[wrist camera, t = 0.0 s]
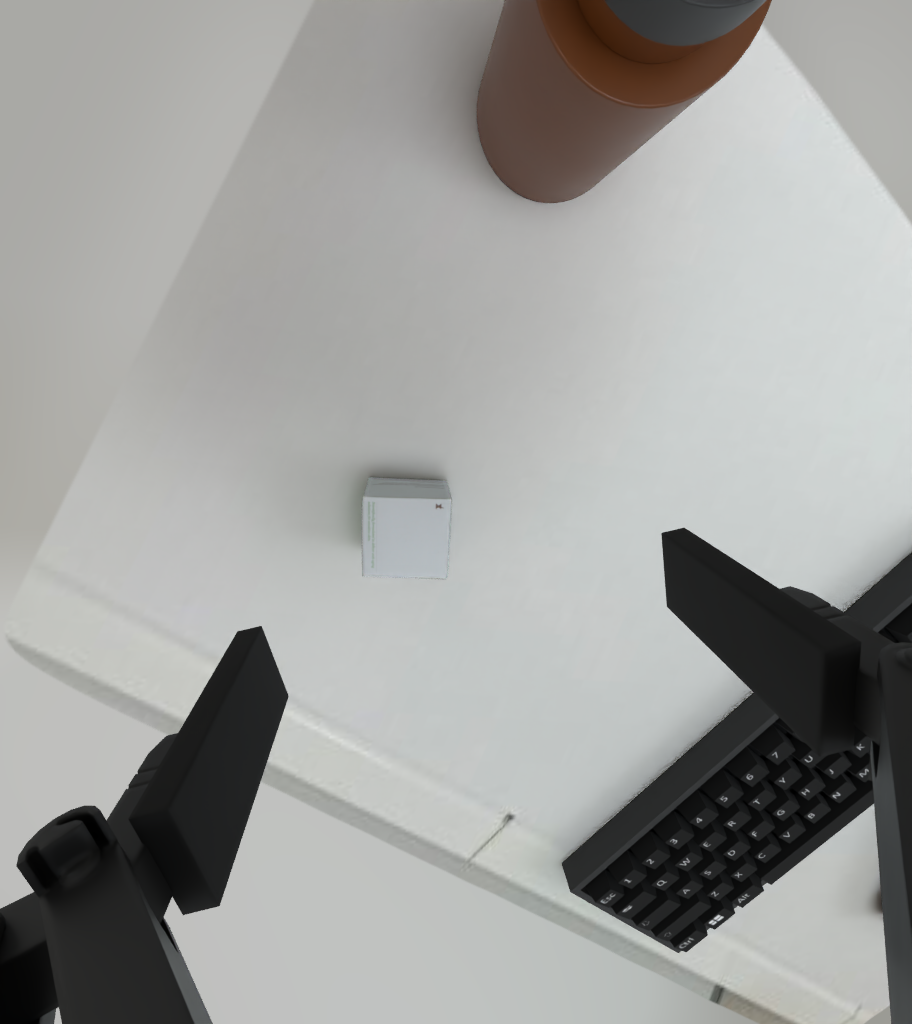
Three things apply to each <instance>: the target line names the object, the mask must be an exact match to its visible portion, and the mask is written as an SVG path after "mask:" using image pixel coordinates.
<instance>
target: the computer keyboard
mask: <svg viewBox="0 0 912 1024" xmlns="http://www.w3.org/2000/svg"><path fill="white" fill-rule="evenodd" d="M844 614H845V615H849V616H851V617H852V618H854V619H856V620H857V621H859V622H861V623H862V624H864V625H866V626H867V627H869V628H871V629H872V630H874V631H876V632H877V633H879V634H881V635H882V636H884V637H886V638H887V639H889V640H891V641H892V642H894V643H901V642H905V643H912V553H911V554H910V555H909V556H908V557H906V558H905V559H904V560H903V561H902V562H901V563H900V564H899V565H897V566H896V567H895V568H894V569H893V570H892V571H891V572H890V573H888V574H887V575H886V576H885V577H884V578H883V579H882V580H881V581H879V582H878V583H877V584H876V585H875V586H874V587H873V588H872V589H870V590H869V591H868V592H867V593H866V594H865V595H864V596H863V597H861V598H860V599H859V600H858V601H857V602H856V603H855V604H854V605H852V606H851V607H850V608H849V609H848V610H847V611H846V612H845V613H844ZM870 750H871V739H870V738H869V737H868V736H867V735H865V734H864V733H863V732H862V731H861V730H859V729H858V728H857V727H856V726H855V735H854V748H853V749H851V750H847V751H843V752H838V753H834V754H830V755H826V756H822V757H819V756H818V755H817V754H816V753H815V752H814V751H813V750H812V749H811V748H810V747H809V746H808V745H807V744H806V743H805V742H804V741H803V740H802V739H801V738H800V737H799V736H798V735H797V734H796V733H795V732H794V731H793V730H792V729H791V728H790V727H789V726H788V725H787V724H786V723H785V722H784V721H783V720H782V719H781V718H780V717H778V716H777V715H776V714H775V713H774V712H773V711H772V710H771V709H770V708H769V707H768V706H767V705H766V704H765V703H764V702H763V701H762V700H761V699H760V698H759V697H758V696H757V695H756V694H755V693H753V694H752V695H751V696H750V697H749V698H748V699H747V700H745V701H744V702H743V703H742V704H741V705H740V706H739V707H738V708H736V709H735V710H734V711H733V712H732V713H731V714H730V715H729V716H727V717H726V718H725V719H724V720H723V721H722V722H721V723H720V724H718V725H717V726H716V727H715V728H714V729H713V730H712V731H711V732H709V733H708V734H707V735H706V736H705V737H704V738H703V739H702V740H700V741H699V742H698V743H697V744H696V745H695V746H694V747H693V748H691V749H690V750H689V751H688V752H687V753H686V754H685V755H684V756H682V757H681V758H680V759H679V760H678V761H677V762H676V763H675V764H673V765H672V766H671V767H670V768H669V769H668V770H667V771H666V772H664V773H663V774H662V775H661V776H660V777H659V778H658V779H657V780H655V781H654V782H653V783H652V784H651V785H650V786H649V787H648V788H646V789H645V790H644V791H643V792H642V793H641V794H640V795H639V796H637V797H636V798H635V799H634V800H633V801H632V802H631V803H630V804H628V805H627V806H626V807H625V808H624V809H623V810H622V811H621V812H619V813H618V814H617V815H616V816H615V817H614V818H613V819H612V820H610V821H609V822H608V823H607V824H606V825H605V826H604V827H603V828H601V829H600V830H599V831H598V832H597V833H596V834H595V835H594V836H592V837H591V838H590V839H589V840H588V841H587V842H586V843H585V844H583V845H582V846H581V847H580V848H579V849H578V850H577V851H576V852H574V853H573V854H572V855H571V856H570V857H569V858H568V859H567V860H565V861H564V862H563V863H562V866H563V869H564V872H565V876H566V879H567V882H568V885H569V889H570V892H571V893H573V894H575V895H577V896H579V897H580V898H582V899H584V900H586V901H587V902H589V903H591V904H593V905H594V906H596V907H598V908H600V909H601V910H603V911H605V912H607V913H608V914H610V915H612V916H614V917H616V918H617V919H619V920H621V921H623V922H624V923H626V924H628V925H630V926H631V927H633V928H635V929H637V930H638V931H640V932H642V933H644V934H646V935H647V936H649V937H651V938H653V939H654V940H656V941H658V942H660V943H661V944H663V945H665V946H667V947H668V948H670V949H672V950H674V951H675V952H677V953H679V952H680V951H685V952H687V951H688V950H690V949H691V948H692V947H693V946H695V945H696V944H697V943H698V942H700V941H701V940H702V939H704V938H705V937H706V936H707V935H708V934H707V930H708V929H709V928H713V929H716V928H717V927H719V926H720V925H721V924H722V923H724V922H725V921H726V920H727V919H729V918H730V917H731V916H732V915H734V914H735V911H734V908H736V907H737V906H740V907H742V908H743V907H744V906H745V905H746V904H748V903H749V902H750V901H751V900H753V899H754V898H755V897H756V896H758V895H759V894H760V893H761V892H763V891H764V889H763V887H762V886H763V885H764V884H766V883H769V884H771V885H772V884H773V883H774V882H775V881H777V880H778V879H779V878H780V877H782V876H783V875H784V874H785V873H787V872H788V871H789V870H790V869H792V868H793V867H794V866H795V865H797V864H798V863H799V862H801V861H802V860H803V859H804V858H806V857H807V856H808V855H809V854H811V853H812V852H813V851H814V850H816V849H817V848H818V847H819V846H821V845H822V844H823V843H824V842H826V841H827V840H828V839H829V838H831V837H832V836H833V835H835V834H836V833H837V832H838V831H840V830H841V829H842V828H843V827H845V826H846V825H847V824H848V823H850V822H851V821H852V820H853V819H855V818H856V817H857V816H858V815H860V814H861V813H862V812H864V811H865V810H866V809H867V808H869V807H870V806H871V805H872V804H874V793H873V781H871V780H868V773H869V762H870Z"/></svg>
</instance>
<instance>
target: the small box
mask: <svg viewBox="0 0 912 1024" xmlns="http://www.w3.org/2000/svg"><path fill="white" fill-rule="evenodd" d="M451 510H452V498H451V494H450V490H449V487H448V483H447V481H445V480H420V479H396V478H374V477H370V478H369V479H368V482H367V486H366V489H365V493H364V496H363V499H362V576H364V577H393V578H425V579H446V578H447V577H448V566H449V545H450V529H451Z"/></svg>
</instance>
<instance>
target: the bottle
mask: <svg viewBox="0 0 912 1024" xmlns="http://www.w3.org/2000/svg"><path fill="white" fill-rule="evenodd" d="M771 1H772V0H505V1H504V5H503V8H502V12H501V15H500V19H499V22H498V25H497V29H496V32H495V36H494V39H493V43H492V46H491V49H490V53H489V56H488V60H487V63H486V67H485V70H484V73H483V77H482V80H481V84H480V89H479V93H478V101H477V124H478V132H479V137H480V141H481V145H482V148H483V151H484V153H485V155H486V158H487V160H488V162H489V164H490V165H491V167H492V169H493V170H494V172H495V173H496V174H497V176H498V177H499V178H500V179H501V181H502V182H504V183H505V184H506V185H507V186H508V187H509V188H510V189H512V190H513V191H514V192H516V193H517V194H519V195H521V196H523V197H525V198H527V199H530V200H533V201H537V202H543V203H557V202H564V201H567V200H571V199H574V198H576V197H578V196H580V195H582V194H584V193H585V192H587V191H588V190H590V189H591V188H592V187H594V186H595V185H596V184H597V183H598V182H599V181H601V180H602V179H603V178H604V177H605V176H607V175H608V174H609V173H610V172H611V171H613V170H614V169H615V168H616V167H617V166H618V165H620V164H621V163H622V162H623V161H624V160H626V159H627V158H628V157H629V156H630V155H631V154H633V153H634V152H635V151H636V150H637V149H639V148H640V147H641V146H642V145H643V144H644V143H646V142H647V141H648V140H649V139H650V138H652V137H653V136H654V135H655V134H656V133H658V132H659V131H660V130H661V129H662V128H663V127H665V126H666V125H667V124H668V123H669V122H671V121H672V120H673V119H674V118H675V117H676V116H678V115H679V114H680V113H681V112H682V111H684V110H685V109H686V108H687V107H688V106H689V105H691V104H692V103H693V102H694V101H695V100H697V99H698V98H699V97H700V96H701V95H703V94H704V93H705V92H706V91H707V90H708V89H710V88H711V87H712V86H713V85H714V84H716V83H717V82H718V81H719V80H720V79H721V78H723V77H724V76H725V75H726V74H727V73H728V72H729V71H730V70H731V69H732V67H733V66H734V65H735V64H736V63H737V62H738V61H739V59H740V58H741V57H742V55H743V54H744V53H745V51H746V50H747V49H748V47H749V46H750V44H751V42H752V41H753V39H754V37H755V36H756V34H757V32H758V31H759V29H760V27H761V24H762V22H763V20H764V18H765V16H766V14H767V11H768V9H769V6H770V3H771Z"/></svg>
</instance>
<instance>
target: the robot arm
mask: <svg viewBox="0 0 912 1024" xmlns="http://www.w3.org/2000/svg"><path fill="white" fill-rule="evenodd" d="M662 546H663V560H664V573H665V586H666V600H667V607H668V608H669V609H670V610H671V611H672V612H673V613H674V614H675V615H676V616H677V617H678V618H679V619H680V620H681V621H682V622H683V623H684V624H685V625H686V626H687V627H688V628H689V629H690V630H691V631H692V632H693V633H694V634H695V635H696V636H697V637H698V638H699V639H700V640H701V641H702V642H703V643H704V644H705V645H706V646H707V647H709V648H710V649H711V650H712V651H713V652H714V653H715V654H716V655H717V656H718V657H719V658H720V659H721V660H722V661H723V662H724V663H725V664H726V665H727V666H728V667H729V668H730V669H731V670H732V671H733V672H734V673H735V674H736V675H737V676H738V677H739V678H740V679H741V680H742V681H743V682H744V683H745V684H746V685H747V686H748V687H749V688H750V689H751V690H752V691H753V692H754V693H755V694H756V695H757V696H758V697H759V698H760V699H761V700H762V701H763V702H764V703H765V704H766V705H767V706H768V707H769V708H770V709H771V710H772V711H773V712H774V713H775V714H776V715H777V716H778V717H780V718H781V719H782V720H783V721H784V722H785V723H786V724H787V725H788V726H789V727H790V728H791V729H792V730H793V731H794V732H795V733H796V734H797V735H798V736H799V737H800V738H801V739H802V740H803V741H804V742H805V743H806V744H807V745H808V746H809V747H810V748H811V749H812V750H813V751H814V752H815V753H816V754H817V755H818V756H819V757H822V756H826V755H830V754H834V753H838V752H843V751H847V750H851V749H853V748H854V735H855V726H856V727H857V728H858V729H859V730H861V731H862V732H863V733H864V734H865V735H867V736H868V737H869V738H870V739H871V750H870V762H869V773H868V780H871V781H873V793H874V806H875V819H876V832H877V845H878V858H879V870H880V883H881V896H882V909H883V922H884V935H885V947H886V960H887V973H888V986H889V999H890V1011H891V1024H912V643H905V642H901V643H894V642H892V641H891V640H889V639H887V638H886V637H884V636H882V635H881V634H879V633H877V632H876V631H874V630H872V629H871V628H869V627H867V626H866V625H864V624H862V623H861V622H859V621H857V620H856V619H854V618H852V617H851V616H849V615H845V614H844V612H842V611H841V610H839V609H837V608H836V607H834V606H832V607H831V606H830V604H829V603H828V602H826V601H824V600H823V599H821V598H819V597H818V596H816V595H814V594H812V593H809V592H806V591H803V590H800V589H797V588H794V587H791V586H790V587H786V588H782V589H779V588H777V587H775V586H774V585H772V584H771V583H769V582H768V581H766V580H765V579H763V578H761V577H760V576H758V575H757V574H755V573H754V572H752V571H751V570H749V569H748V568H746V567H744V566H743V565H741V564H740V563H738V562H737V561H735V560H734V559H732V558H730V557H729V556H727V555H726V554H724V553H723V552H721V551H720V550H718V549H716V548H715V547H713V546H712V545H710V544H709V543H707V542H706V541H704V540H703V539H701V538H699V537H698V536H696V535H695V534H693V533H692V532H690V531H689V530H687V529H685V528H681V529H677V530H673V531H668V532H664V533H662ZM287 699H288V693H287V691H286V688H285V686H284V683H283V681H282V678H281V675H280V673H279V670H278V668H277V665H276V662H275V660H274V657H273V655H272V652H271V649H270V647H269V644H268V642H267V639H266V636H265V634H264V631H263V629H262V626H259V627H255V628H251V629H247V630H242V631H238V632H237V633H236V635H235V637H234V639H233V640H232V642H231V644H230V645H229V647H228V649H227V651H226V652H225V654H224V656H223V657H222V659H221V661H220V663H219V664H218V666H217V668H216V669H215V671H214V673H213V675H212V676H211V678H210V680H209V681H208V683H207V685H206V687H205V688H204V690H203V692H202V693H201V695H200V697H199V699H198V700H197V702H196V704H195V705H194V707H193V709H192V711H191V712H190V714H189V716H188V717H187V719H186V721H185V723H184V724H183V726H182V728H181V729H180V731H179V733H177V734H172V735H168V736H166V737H165V738H164V739H163V740H162V741H161V742H160V743H159V744H158V745H157V746H156V747H155V748H154V749H153V750H152V751H151V752H150V753H149V754H148V755H147V757H146V758H145V760H144V762H143V764H142V765H141V767H140V768H139V770H138V774H136V775H135V776H134V778H133V779H132V781H131V782H130V784H129V788H128V789H126V790H125V792H124V794H123V795H122V797H121V798H120V800H119V801H118V803H117V805H116V807H115V808H114V810H113V811H112V813H111V814H110V816H109V817H108V819H107V821H106V819H105V818H104V816H103V814H102V813H101V811H100V810H99V809H98V808H96V806H82V807H79V808H76V809H73V810H70V811H68V812H66V813H65V814H62V815H61V816H59V817H57V818H55V819H54V820H52V821H51V822H50V823H48V824H47V825H46V826H45V827H43V828H42V829H40V830H39V831H38V832H37V833H36V834H35V835H34V836H33V837H32V839H30V840H29V841H28V843H27V844H26V845H25V847H24V848H23V850H22V851H21V853H20V854H19V856H18V862H17V867H18V869H19V870H20V871H21V873H22V875H23V876H24V877H25V879H26V880H27V882H28V883H29V885H30V886H31V887H32V889H33V890H34V892H33V893H32V894H30V895H27V896H25V897H23V898H21V899H19V900H17V901H15V902H13V903H11V904H9V905H7V906H5V907H3V908H1V909H0V1024H54V1019H55V1012H56V1008H57V1007H59V1009H60V1015H61V1019H62V1024H213V1023H212V1021H211V1019H210V1017H209V1014H208V1012H207V1010H206V1008H205V1006H204V1004H203V1001H202V999H201V997H200V994H199V992H198V990H197V988H196V986H195V983H194V981H193V979H192V977H191V974H190V972H189V970H188V968H187V965H186V963H185V961H184V959H183V957H182V954H181V952H180V950H179V948H178V945H177V943H176V941H175V939H174V937H173V934H172V932H171V930H170V927H169V926H168V924H167V922H166V921H165V919H164V914H165V912H166V910H167V907H168V905H169V903H170V900H171V898H172V897H173V898H174V900H175V902H176V904H177V905H178V907H179V909H180V910H181V912H182V914H183V915H185V914H189V913H193V912H197V911H201V910H205V909H209V908H213V907H217V906H220V903H221V900H222V897H223V894H224V891H225V888H226V885H227V882H228V878H229V875H230V872H231V869H232V866H233V863H234V860H235V857H236V854H237V851H238V848H239V845H240V842H241V839H242V836H243V833H244V830H245V827H246V824H247V821H248V818H249V815H250V812H251V809H252V805H253V803H254V800H255V797H256V794H257V790H258V787H259V784H260V781H261V778H262V775H263V772H264V769H265V766H266V763H267V760H268V757H269V754H270V751H271V748H272V745H273V742H274V739H275V736H276V733H277V730H278V727H279V724H280V721H281V718H282V715H283V712H284V709H285V705H286V702H287Z"/></svg>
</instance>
